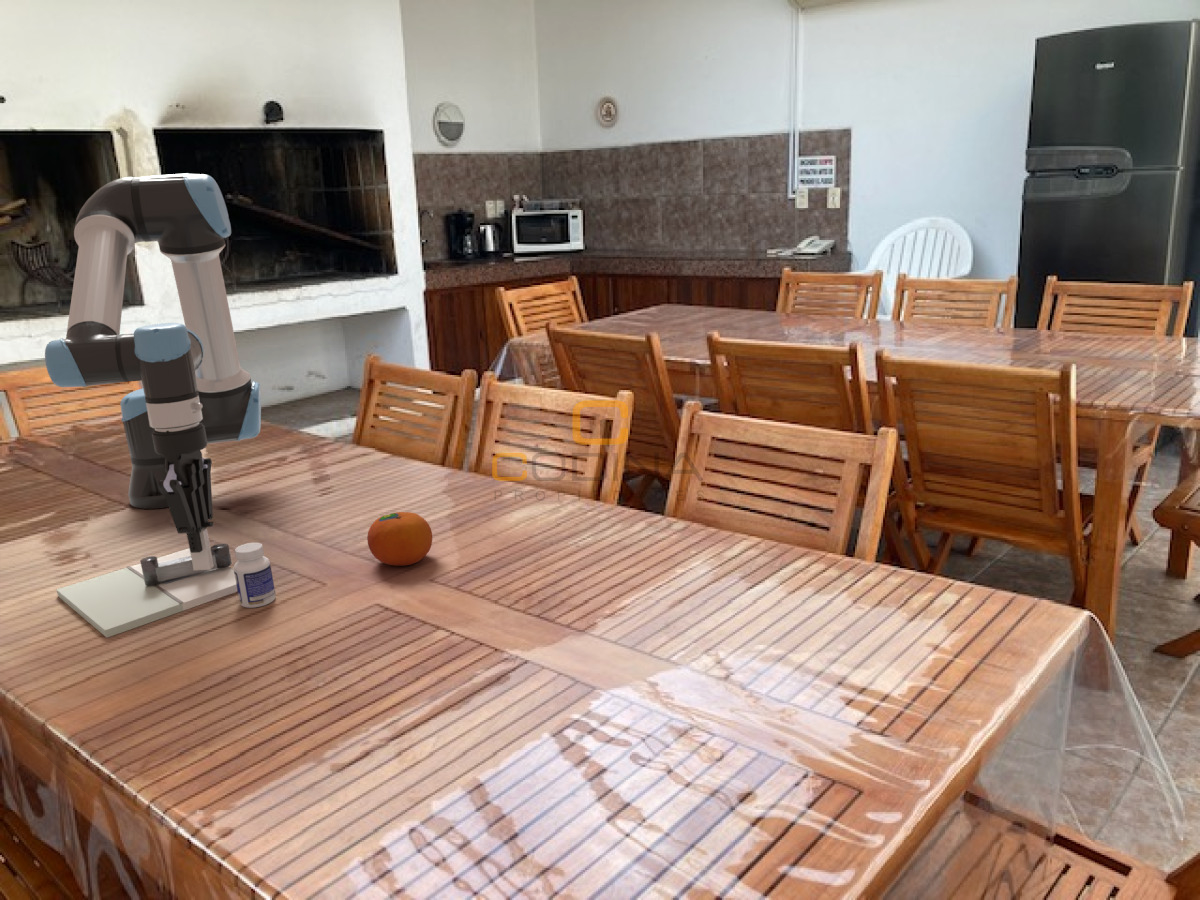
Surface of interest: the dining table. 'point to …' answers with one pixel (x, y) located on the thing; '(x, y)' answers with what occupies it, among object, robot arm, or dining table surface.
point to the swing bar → (181, 565)
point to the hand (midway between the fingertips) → (203, 568)
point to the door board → (143, 595)
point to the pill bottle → (253, 576)
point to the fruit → (400, 538)
